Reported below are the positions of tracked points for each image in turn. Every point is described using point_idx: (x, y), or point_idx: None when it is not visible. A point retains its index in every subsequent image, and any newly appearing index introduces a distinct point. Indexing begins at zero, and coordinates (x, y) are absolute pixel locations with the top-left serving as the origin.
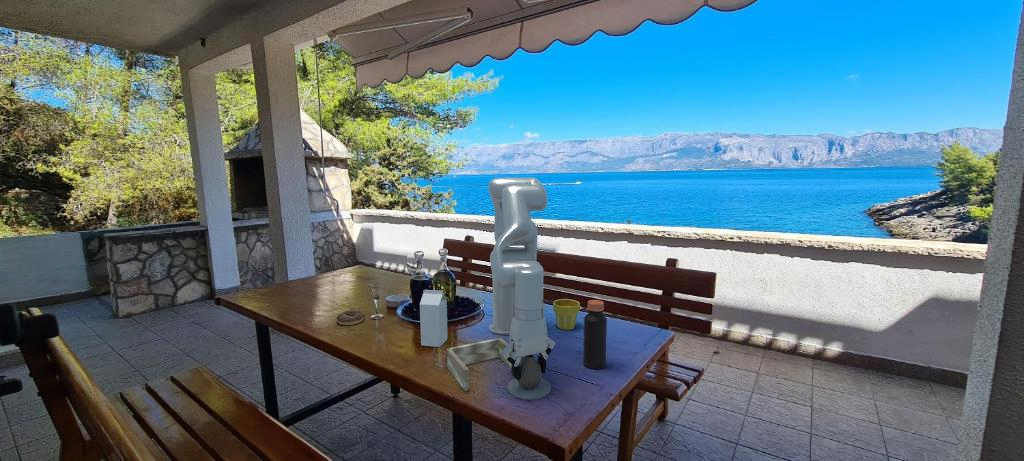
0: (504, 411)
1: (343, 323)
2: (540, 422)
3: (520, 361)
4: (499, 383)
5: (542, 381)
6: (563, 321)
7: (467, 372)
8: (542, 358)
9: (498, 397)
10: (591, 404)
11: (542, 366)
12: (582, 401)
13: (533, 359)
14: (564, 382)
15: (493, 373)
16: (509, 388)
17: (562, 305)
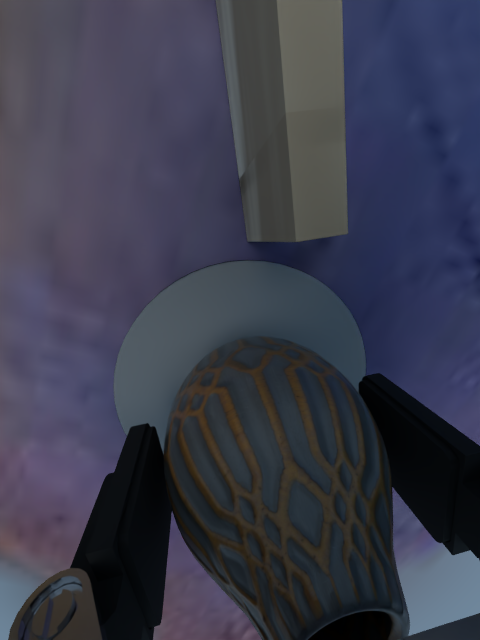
0: (61, 541)
1: None
2: (194, 607)
3: (278, 235)
4: (77, 280)
5: (338, 362)
6: None
7: None
8: (466, 545)
9: (46, 432)
10: (416, 536)
11: (395, 481)
12: (402, 517)
13: (355, 635)
14: (434, 374)
15: (49, 96)
16: (123, 390)
17: None
